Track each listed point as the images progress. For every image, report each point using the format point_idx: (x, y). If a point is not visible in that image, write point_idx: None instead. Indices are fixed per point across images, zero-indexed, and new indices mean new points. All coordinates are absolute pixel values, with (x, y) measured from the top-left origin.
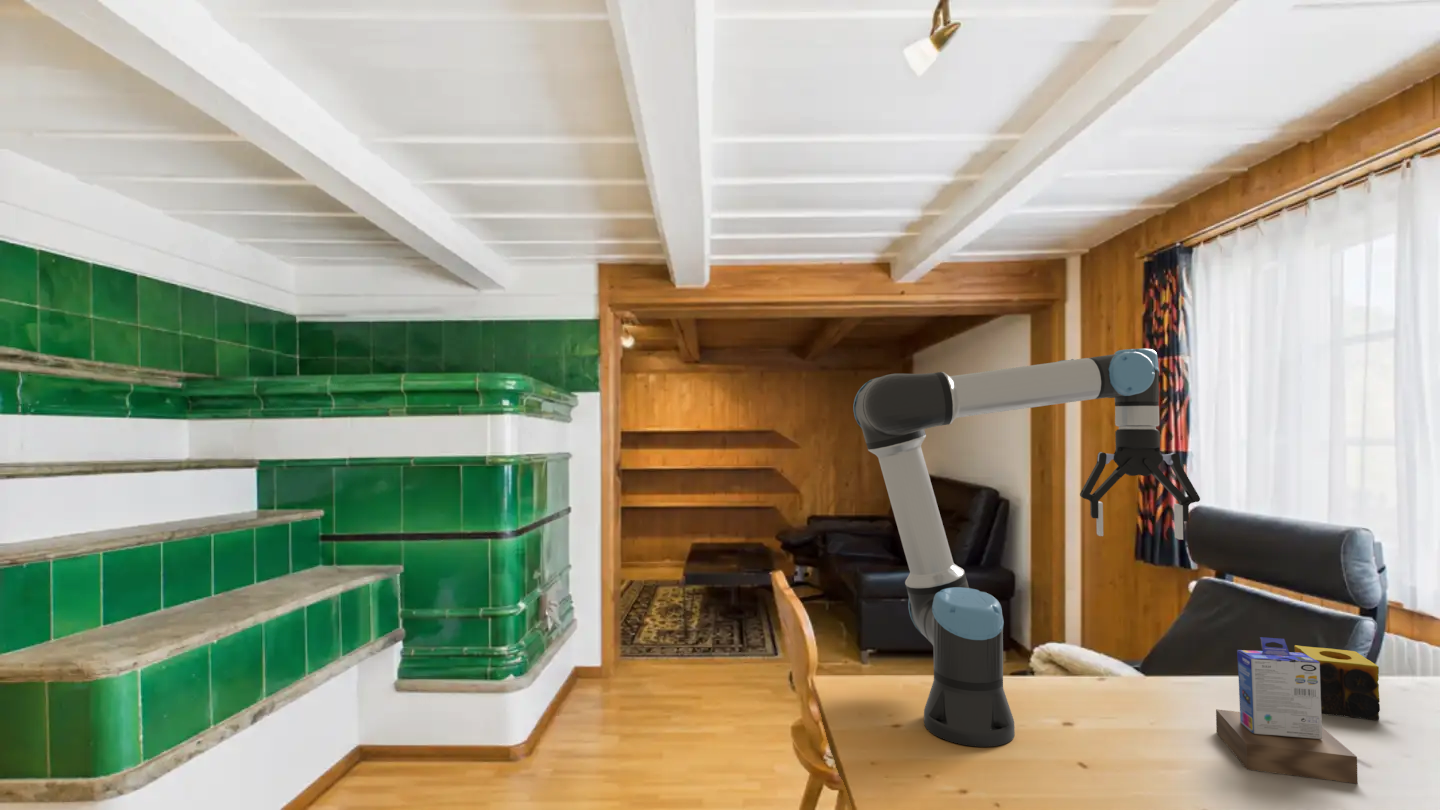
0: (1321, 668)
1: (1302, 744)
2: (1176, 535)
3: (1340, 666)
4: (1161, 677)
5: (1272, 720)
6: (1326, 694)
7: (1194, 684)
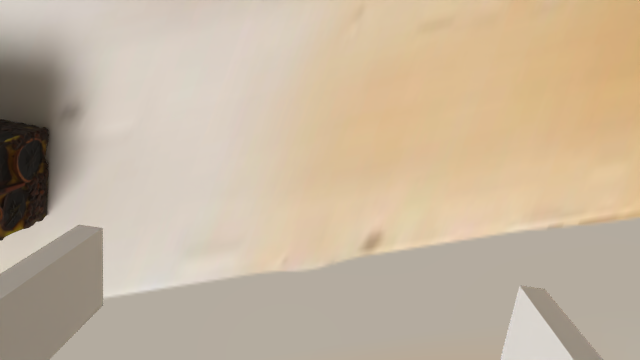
0: None
1: None
2: (94, 276)
3: None
4: (251, 269)
5: None
6: (1, 133)
7: (202, 241)
